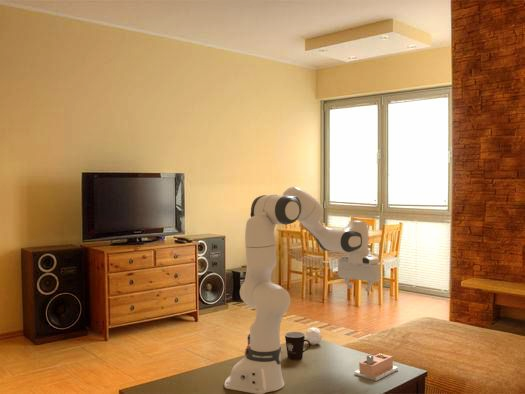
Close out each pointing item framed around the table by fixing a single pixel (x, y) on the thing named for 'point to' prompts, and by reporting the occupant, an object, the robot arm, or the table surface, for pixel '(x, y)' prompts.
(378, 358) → the link
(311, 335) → the geometric ball
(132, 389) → the table surface
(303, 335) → the coffee mug
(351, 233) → the robot arm
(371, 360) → the post plate
